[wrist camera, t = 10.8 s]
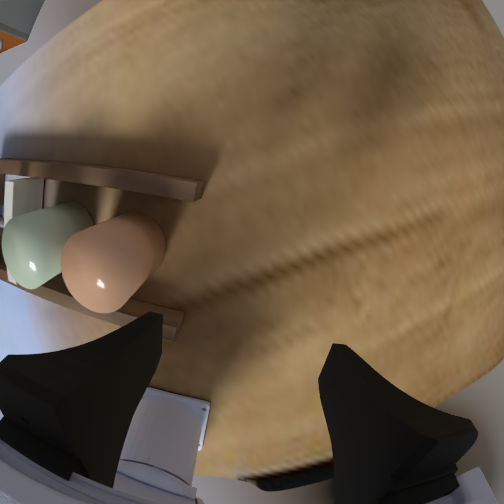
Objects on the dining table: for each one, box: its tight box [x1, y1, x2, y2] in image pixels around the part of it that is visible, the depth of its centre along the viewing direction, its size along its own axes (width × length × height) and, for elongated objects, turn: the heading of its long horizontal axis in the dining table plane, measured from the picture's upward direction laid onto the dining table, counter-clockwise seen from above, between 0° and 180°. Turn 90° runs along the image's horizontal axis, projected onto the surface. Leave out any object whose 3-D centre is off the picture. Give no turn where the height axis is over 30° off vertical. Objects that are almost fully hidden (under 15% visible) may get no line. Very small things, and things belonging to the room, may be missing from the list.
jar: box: [61, 212, 166, 313], centre depth 17 cm, size 5×5×6 cm
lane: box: [0, 158, 204, 341], centre depth 18 cm, size 11×22×4 cm, turn 78°
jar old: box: [2, 202, 94, 289], centre depth 17 cm, size 5×5×6 cm
